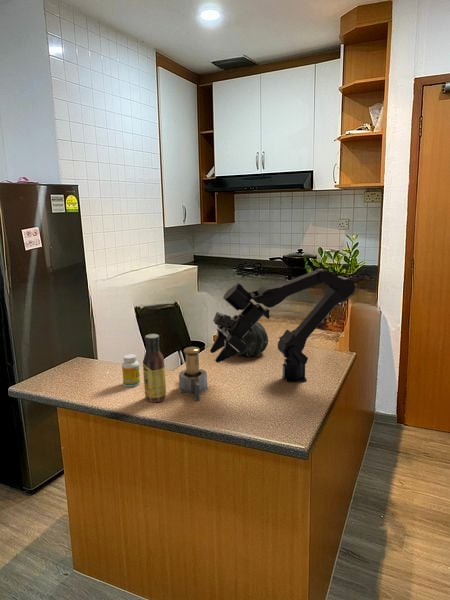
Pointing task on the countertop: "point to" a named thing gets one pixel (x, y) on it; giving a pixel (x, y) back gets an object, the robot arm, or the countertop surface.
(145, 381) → the sauce bottle
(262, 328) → the squash
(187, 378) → the grey ring with arms
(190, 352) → the pin
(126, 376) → the supplement bottle
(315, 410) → the countertop surface
